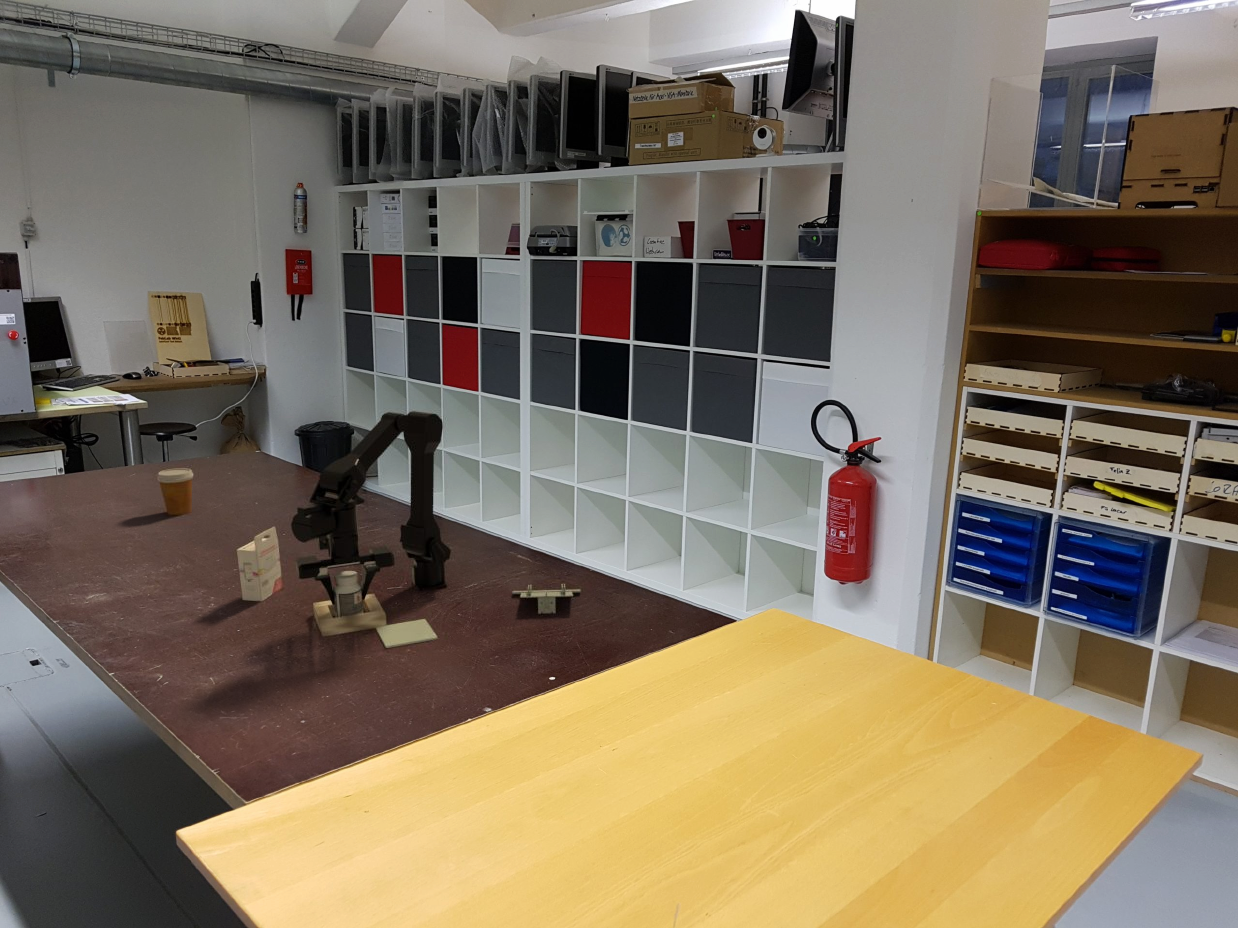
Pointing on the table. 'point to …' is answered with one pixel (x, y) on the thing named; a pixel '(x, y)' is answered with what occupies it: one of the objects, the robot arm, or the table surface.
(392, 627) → the mat
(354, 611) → the pill bottle
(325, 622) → the pocket holder
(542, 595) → the metal bracket
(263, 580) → the ink cartridge box
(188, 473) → the disposable coffee cup
